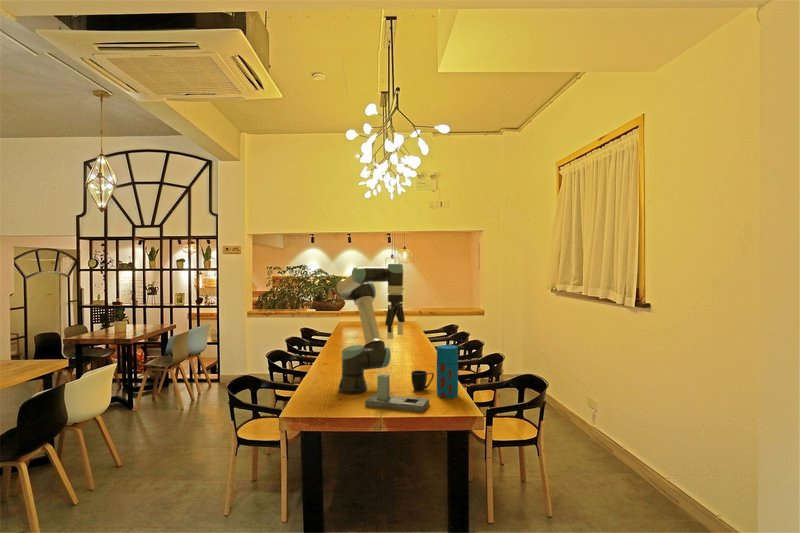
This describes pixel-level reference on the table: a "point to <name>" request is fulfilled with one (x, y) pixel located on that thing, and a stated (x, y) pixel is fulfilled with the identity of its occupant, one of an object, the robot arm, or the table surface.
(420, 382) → the mug
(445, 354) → the thermos
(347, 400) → the table surface
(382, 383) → the plug
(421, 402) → the panel
